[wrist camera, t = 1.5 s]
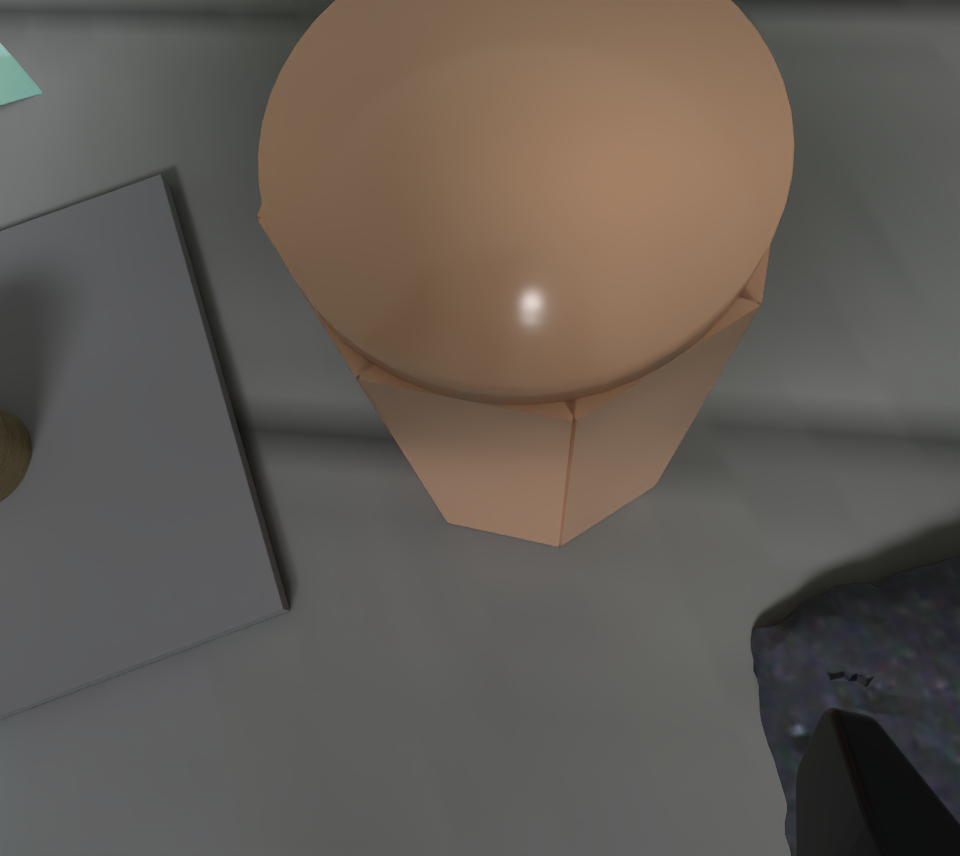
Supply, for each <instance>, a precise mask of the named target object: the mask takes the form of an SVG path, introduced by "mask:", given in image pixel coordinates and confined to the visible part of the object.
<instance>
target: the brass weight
mask: <svg viewBox="0 0 960 856" xmlns="http://www.w3.org/2000/svg"><path fill="white" fill-rule="evenodd" d="M31 454H32V444H31V438H30V435H29V432H28V430H27V428H26V426H25V425H24V423H23V422H22V421H21V420H20V419H19V418H18V417H17V416H16V415H14V414H13V413H11V412H9V411H7V410H5V409H3V408H1V407H0V502H1V501H3V500H4V499H5V498H7V497H8V496H9V495H10V494H11V493H12V492H13V491H14V490H15V489H16V488H17V487H18V486H19V484H20V483H21V481H22V480H23V478H24V476H25V474H26V472H27V470H28V467H29V464H30V460H31Z"/></svg>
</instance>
